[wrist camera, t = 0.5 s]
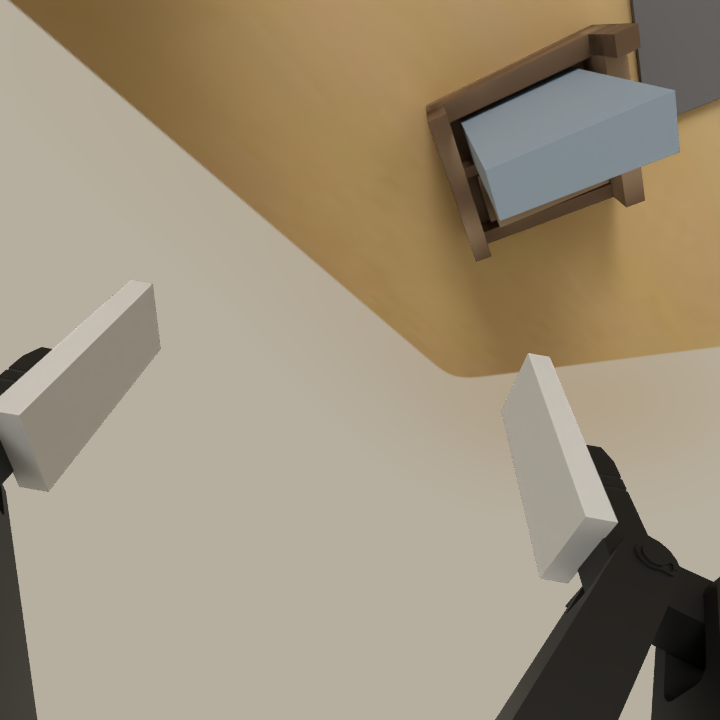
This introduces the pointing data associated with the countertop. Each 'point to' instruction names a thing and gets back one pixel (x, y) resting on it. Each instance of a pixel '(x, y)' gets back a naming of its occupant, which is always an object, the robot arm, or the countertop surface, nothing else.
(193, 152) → the countertop surface
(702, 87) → the mat
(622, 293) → the countertop surface
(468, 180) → the rack
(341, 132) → the countertop surface
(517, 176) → the blue rectangular block
